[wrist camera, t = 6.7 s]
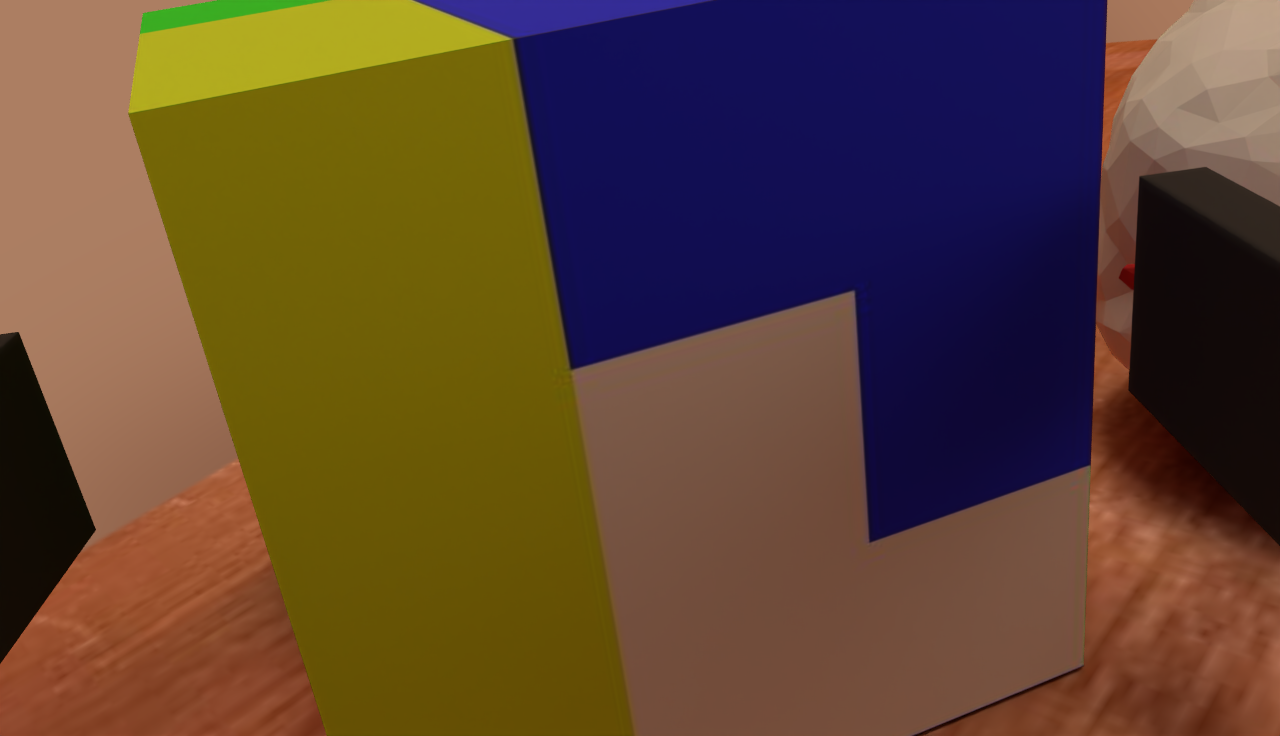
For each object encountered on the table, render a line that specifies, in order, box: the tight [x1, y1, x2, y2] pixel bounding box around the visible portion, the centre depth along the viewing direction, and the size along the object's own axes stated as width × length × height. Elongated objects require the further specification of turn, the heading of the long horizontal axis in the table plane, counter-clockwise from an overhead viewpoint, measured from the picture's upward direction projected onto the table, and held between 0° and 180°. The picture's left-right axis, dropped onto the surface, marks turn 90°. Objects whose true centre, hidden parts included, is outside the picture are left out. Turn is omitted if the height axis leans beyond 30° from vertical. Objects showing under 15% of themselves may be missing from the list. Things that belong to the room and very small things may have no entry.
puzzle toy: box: [128, 0, 1107, 736], centre depth 17 cm, size 10×10×10 cm
